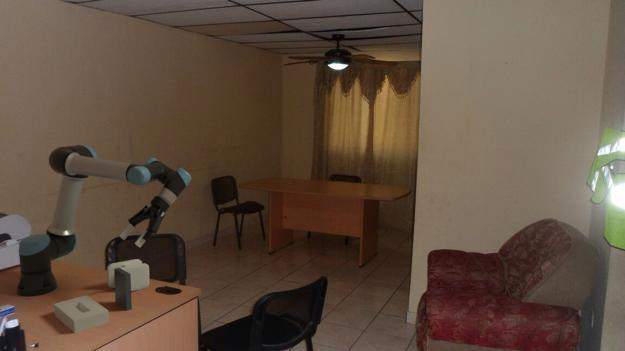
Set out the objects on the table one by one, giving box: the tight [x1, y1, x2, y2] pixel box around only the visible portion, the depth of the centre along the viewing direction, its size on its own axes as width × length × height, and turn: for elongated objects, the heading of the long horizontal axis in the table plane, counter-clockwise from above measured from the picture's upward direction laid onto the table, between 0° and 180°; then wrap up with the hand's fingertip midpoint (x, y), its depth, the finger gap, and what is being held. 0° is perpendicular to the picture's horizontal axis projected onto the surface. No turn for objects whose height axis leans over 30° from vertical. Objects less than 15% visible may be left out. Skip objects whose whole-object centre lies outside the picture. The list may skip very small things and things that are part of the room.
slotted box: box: [53, 295, 110, 334], centre depth 174 cm, size 20×12×6 cm, turn 47°
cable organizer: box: [106, 258, 150, 292], centre depth 207 cm, size 15×11×12 cm
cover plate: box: [114, 268, 133, 312], centre depth 185 cm, size 10×2×16 cm, turn 47°
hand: (129, 241), depth 187 cm, fingers open, 13 cm apart
